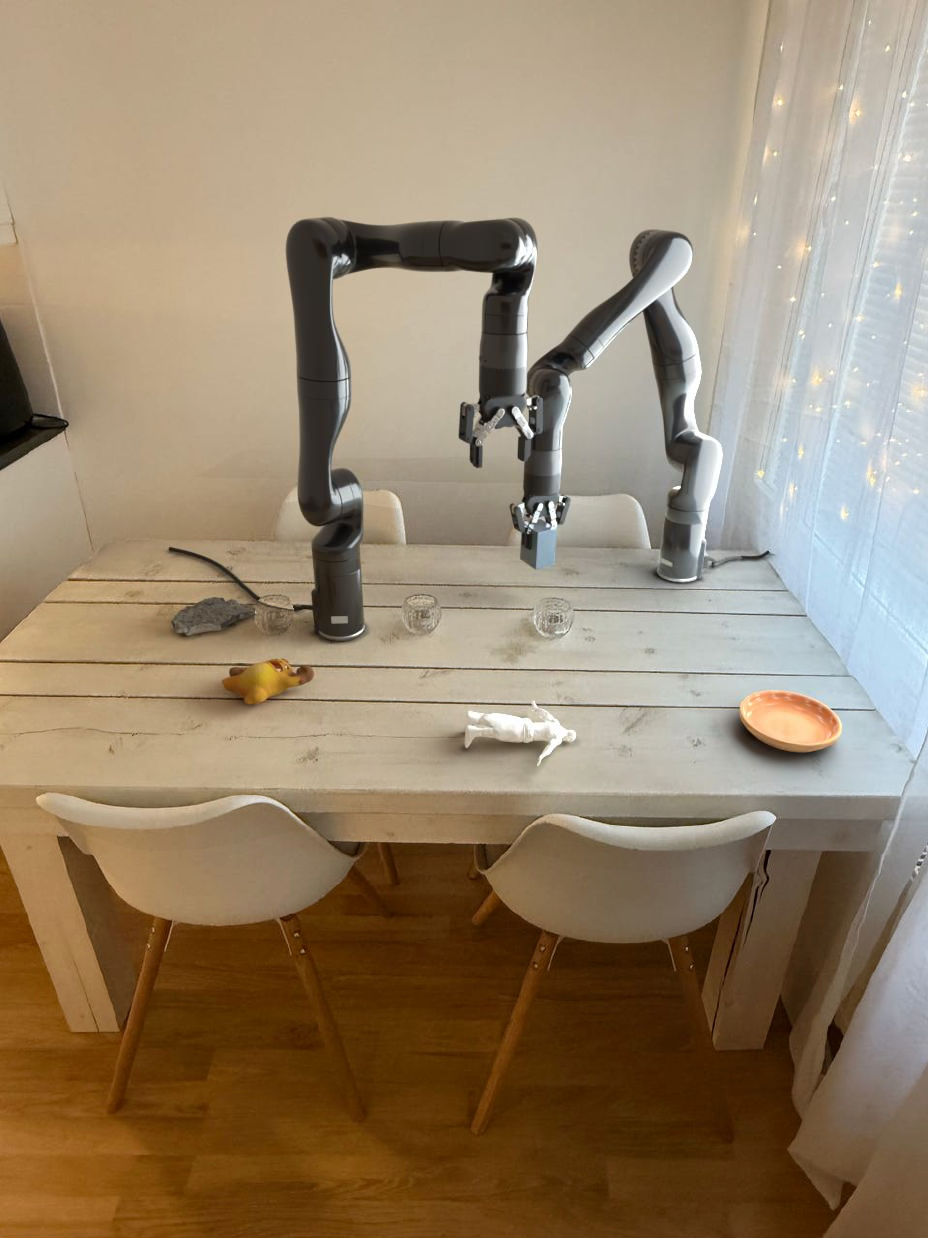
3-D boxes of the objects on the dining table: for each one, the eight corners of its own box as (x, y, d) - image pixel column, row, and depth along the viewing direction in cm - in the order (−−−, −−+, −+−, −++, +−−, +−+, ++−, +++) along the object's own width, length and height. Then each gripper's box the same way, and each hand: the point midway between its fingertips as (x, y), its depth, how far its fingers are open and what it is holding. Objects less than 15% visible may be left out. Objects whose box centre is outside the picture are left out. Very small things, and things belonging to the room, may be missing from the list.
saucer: (730, 699, 144) (733, 685, 143) (824, 707, 142) (828, 693, 141) (745, 755, 130) (748, 740, 129) (849, 764, 128) (854, 749, 127)
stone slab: (156, 626, 166) (154, 613, 164) (223, 596, 177) (221, 584, 176) (194, 646, 159) (192, 633, 158) (261, 614, 171) (259, 601, 169)
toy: (214, 669, 145) (294, 645, 152) (223, 703, 146) (302, 678, 153) (228, 678, 135) (313, 652, 142) (238, 714, 136) (322, 687, 143)
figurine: (463, 772, 126) (578, 784, 127) (467, 744, 123) (584, 757, 124) (464, 709, 141) (566, 721, 142) (468, 684, 139) (572, 696, 139)
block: (535, 570, 171) (537, 532, 167) (519, 559, 175) (521, 522, 171) (554, 565, 173) (557, 528, 168) (538, 555, 177) (540, 518, 173)
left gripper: (474, 370, 120) (472, 476, 128) (555, 362, 126) (549, 464, 134) (451, 361, 126) (451, 462, 134) (530, 353, 132) (525, 451, 140)
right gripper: (522, 478, 158) (518, 559, 166) (582, 468, 164) (576, 546, 172) (502, 468, 164) (499, 546, 172) (561, 458, 170) (556, 534, 178)
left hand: (500, 463), depth 134 cm, fingers open, 8 cm apart
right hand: (538, 546), depth 172 cm, fingers closed on block, 4 cm apart
